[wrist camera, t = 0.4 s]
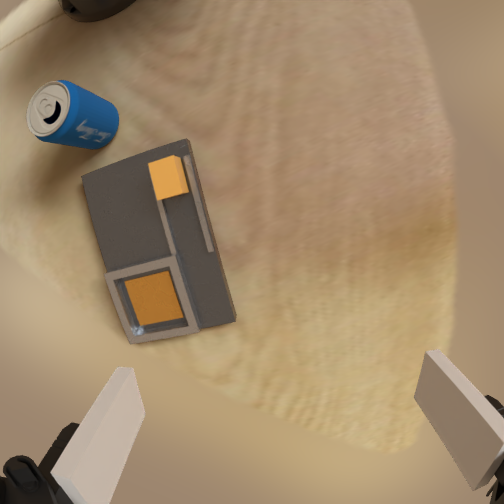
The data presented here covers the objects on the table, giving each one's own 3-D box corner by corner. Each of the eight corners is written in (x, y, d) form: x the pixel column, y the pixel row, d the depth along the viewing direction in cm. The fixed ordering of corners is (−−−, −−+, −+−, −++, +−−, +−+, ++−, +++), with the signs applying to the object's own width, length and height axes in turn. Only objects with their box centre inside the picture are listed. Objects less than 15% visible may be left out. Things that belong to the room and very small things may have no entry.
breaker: (157, 165, 33) (148, 163, 30) (180, 157, 33) (173, 155, 30) (165, 199, 34) (157, 200, 31) (189, 192, 34) (182, 193, 31)
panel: (88, 176, 36) (75, 176, 32) (189, 140, 35) (183, 136, 32) (137, 334, 40) (129, 346, 37) (236, 315, 39) (234, 326, 36)
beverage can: (99, 159, 35) (44, 154, 24) (70, 131, 34) (14, 119, 23) (131, 119, 34) (84, 97, 23) (100, 92, 33) (50, 66, 22)
